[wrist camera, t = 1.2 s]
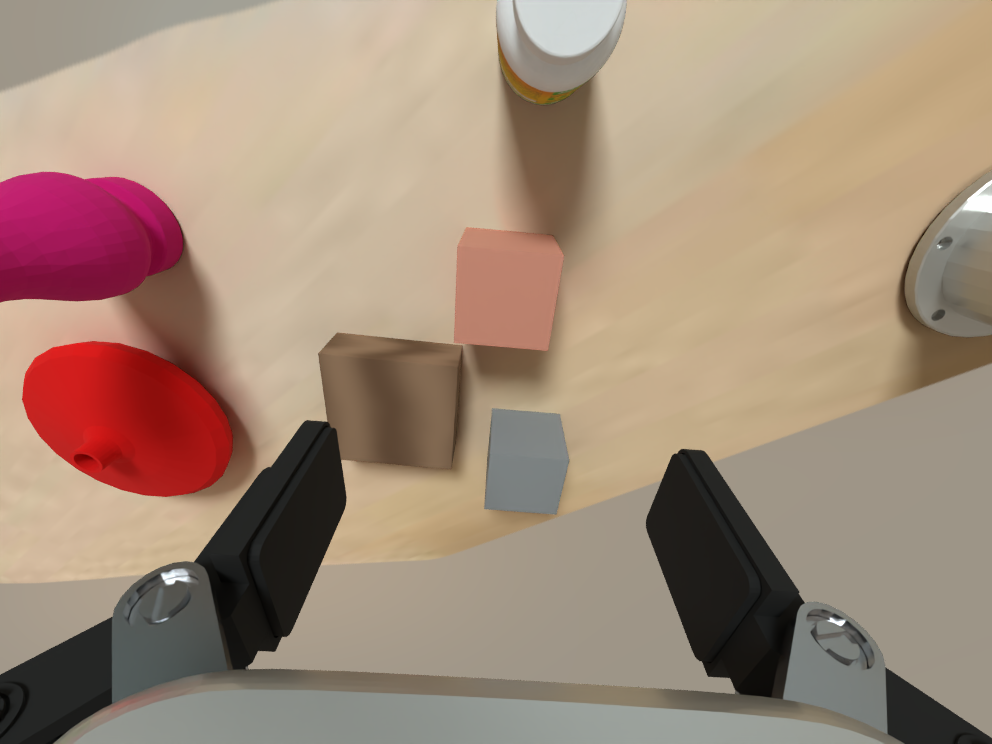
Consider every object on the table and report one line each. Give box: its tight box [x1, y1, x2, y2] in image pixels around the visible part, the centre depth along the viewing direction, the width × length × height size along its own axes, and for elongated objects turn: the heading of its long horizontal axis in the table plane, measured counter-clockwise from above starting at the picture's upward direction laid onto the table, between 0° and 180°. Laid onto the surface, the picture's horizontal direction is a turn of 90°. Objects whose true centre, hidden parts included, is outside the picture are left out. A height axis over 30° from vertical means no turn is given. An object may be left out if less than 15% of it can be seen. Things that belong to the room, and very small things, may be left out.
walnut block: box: [318, 333, 462, 469], centre depth 32 cm, size 10×10×4 cm
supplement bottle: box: [496, 0, 627, 105], centre depth 18 cm, size 5×5×10 cm
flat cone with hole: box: [22, 341, 233, 497], centre depth 32 cm, size 16×16×7 cm
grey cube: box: [484, 408, 569, 514], centre depth 34 cm, size 6×6×6 cm
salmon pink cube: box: [454, 227, 564, 351], centre depth 26 cm, size 6×6×6 cm
